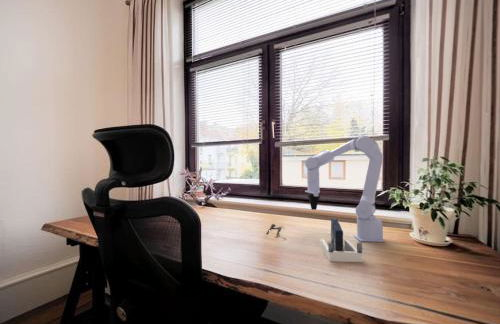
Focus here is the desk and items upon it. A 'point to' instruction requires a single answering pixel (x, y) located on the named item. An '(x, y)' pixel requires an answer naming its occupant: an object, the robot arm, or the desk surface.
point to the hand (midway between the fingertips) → (313, 209)
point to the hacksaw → (277, 231)
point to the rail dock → (343, 252)
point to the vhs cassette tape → (336, 235)
